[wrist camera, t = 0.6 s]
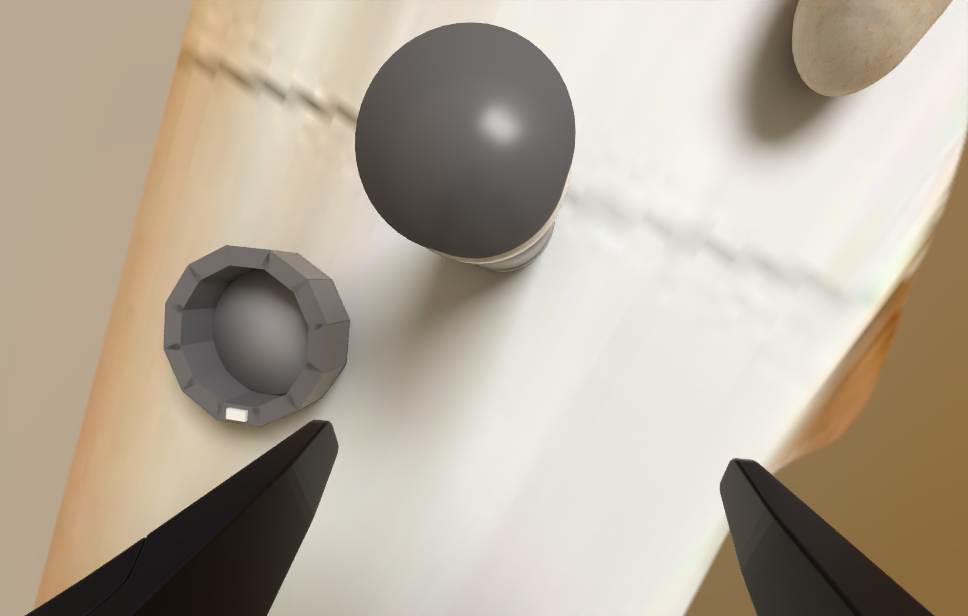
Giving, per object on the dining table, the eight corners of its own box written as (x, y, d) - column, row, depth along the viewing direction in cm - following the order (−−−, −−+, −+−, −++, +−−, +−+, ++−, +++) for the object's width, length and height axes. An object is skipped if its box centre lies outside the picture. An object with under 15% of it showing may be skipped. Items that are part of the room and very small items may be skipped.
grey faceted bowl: (341, 421, 24) (317, 438, 21) (197, 397, 25) (157, 410, 22) (354, 259, 23) (330, 256, 20) (205, 243, 24) (164, 238, 22)
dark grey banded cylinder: (546, 277, 21) (563, 269, 9) (454, 267, 22) (342, 245, 9) (558, 181, 21) (595, 20, 8) (464, 173, 22) (360, 15, 9)
